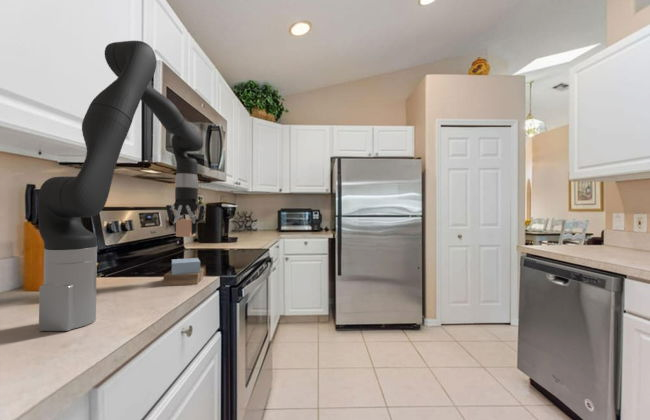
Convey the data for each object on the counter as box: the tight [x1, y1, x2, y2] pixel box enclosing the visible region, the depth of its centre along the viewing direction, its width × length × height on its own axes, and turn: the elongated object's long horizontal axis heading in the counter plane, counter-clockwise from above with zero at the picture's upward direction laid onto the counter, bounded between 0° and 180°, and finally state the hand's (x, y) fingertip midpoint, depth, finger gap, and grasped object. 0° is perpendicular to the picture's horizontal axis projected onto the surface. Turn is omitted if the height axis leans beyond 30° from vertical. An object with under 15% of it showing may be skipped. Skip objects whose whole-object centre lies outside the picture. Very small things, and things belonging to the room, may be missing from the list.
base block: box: [163, 267, 205, 286], centre depth 111 cm, size 11×11×4 cm
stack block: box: [175, 218, 197, 238], centre depth 111 cm, size 5×5×6 cm
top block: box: [171, 257, 201, 275], centre depth 111 cm, size 9×9×4 cm
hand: (185, 233), depth 111 cm, fingers closed on stack block, 5 cm apart
